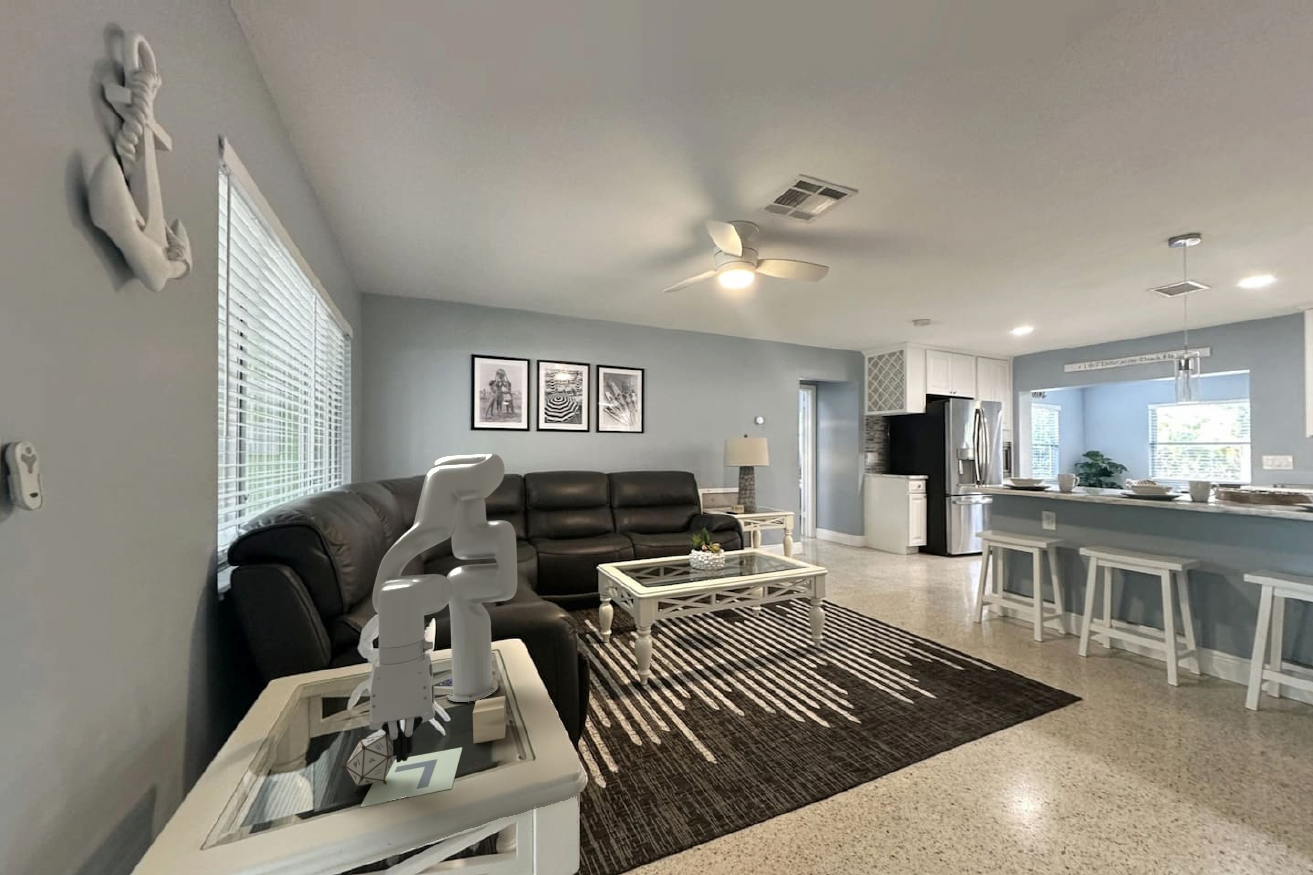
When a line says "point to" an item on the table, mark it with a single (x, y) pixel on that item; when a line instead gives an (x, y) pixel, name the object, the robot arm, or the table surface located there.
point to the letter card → (416, 777)
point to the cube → (489, 719)
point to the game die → (370, 760)
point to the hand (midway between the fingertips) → (403, 757)
